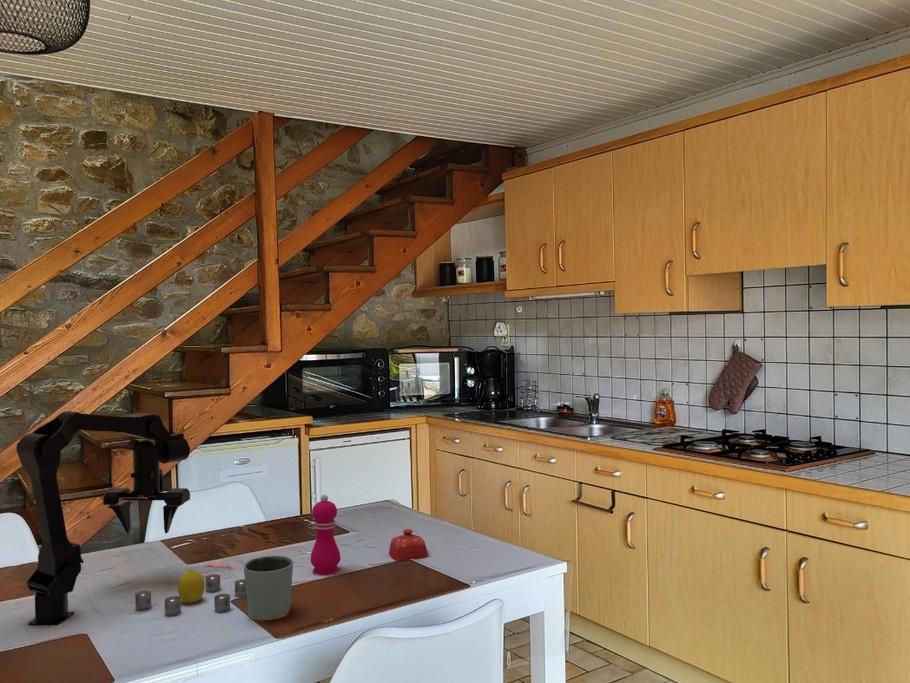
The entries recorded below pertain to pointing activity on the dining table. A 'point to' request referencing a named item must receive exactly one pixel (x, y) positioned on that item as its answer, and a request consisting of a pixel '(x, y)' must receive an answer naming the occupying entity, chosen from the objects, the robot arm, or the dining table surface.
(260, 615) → the grey ceramic cup
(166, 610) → the spacers
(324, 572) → the pepper mill
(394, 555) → the butter dish
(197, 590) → the lemon
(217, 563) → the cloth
